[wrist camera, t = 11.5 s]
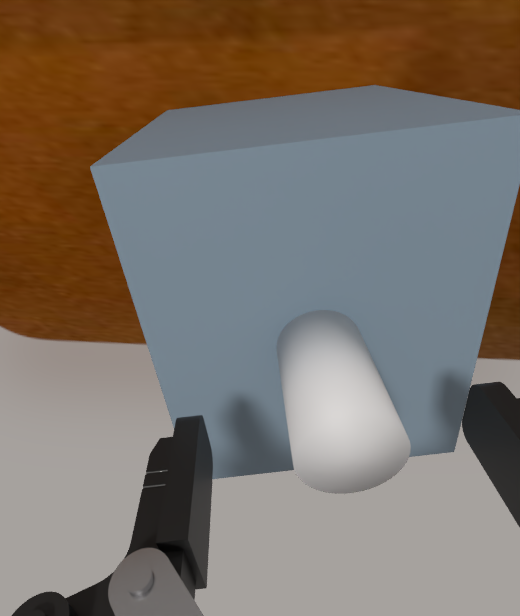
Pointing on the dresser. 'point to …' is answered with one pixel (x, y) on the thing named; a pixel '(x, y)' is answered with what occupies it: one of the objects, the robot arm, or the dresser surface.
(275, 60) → the dresser surface
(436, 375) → the block with white knob
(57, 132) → the dresser surface
